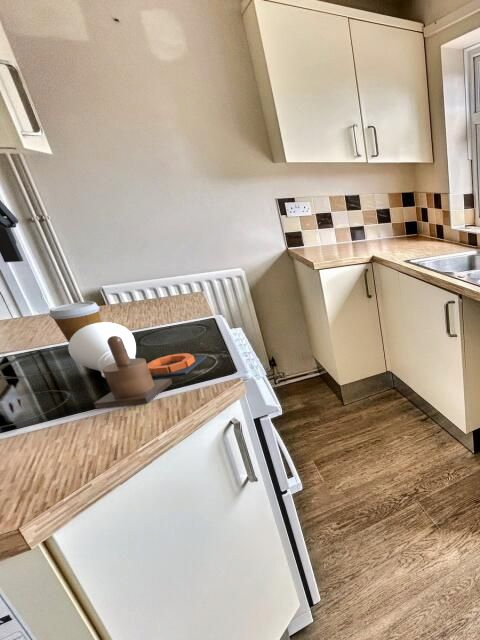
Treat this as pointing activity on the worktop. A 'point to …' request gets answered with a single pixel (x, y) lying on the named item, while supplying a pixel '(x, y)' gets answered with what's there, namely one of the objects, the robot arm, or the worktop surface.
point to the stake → (128, 379)
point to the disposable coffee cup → (75, 317)
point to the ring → (185, 362)
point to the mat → (181, 371)
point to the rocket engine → (99, 344)
